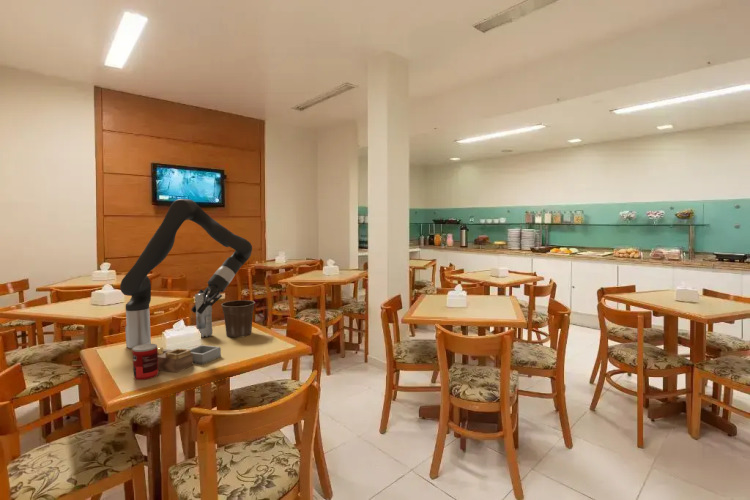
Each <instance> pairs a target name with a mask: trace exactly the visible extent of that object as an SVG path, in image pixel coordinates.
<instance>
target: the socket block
mask: <svg viewBox="0 0 750 500" xmlns="http://www.w3.org/2000/svg"><path fill="white" fill-rule="evenodd" d="M190 349H191V348H190ZM190 349H188V348H176V349H165V348H163V354H160V355H158V371H164V372H171V373H176V374H177V373H178V372H182V371H183V370H186V369H188V368H190V367H193V366H194V363H193V353H191V350H190Z"/></svg>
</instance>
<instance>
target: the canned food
mask: <svg viewBox="0 0 750 500" xmlns="http://www.w3.org/2000/svg"><path fill="white" fill-rule="evenodd" d="M157 348H158V345H157V344H156V343H151V344H143V345H138V346H135V347H134V348H133V349H132V365H133V366H132V369H133V377H134V379H135V380H138V381H139V380H140V381H141V380H143V381H144V380H148V379H152V378H155V377H157V376H158V374H159V370H158V352H157Z"/></svg>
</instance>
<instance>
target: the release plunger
mask: <svg viewBox="0 0 750 500" xmlns="http://www.w3.org/2000/svg"><path fill="white" fill-rule="evenodd" d="M163 349H164V347H157V352H158V355H160V354H163Z"/></svg>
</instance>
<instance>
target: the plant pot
mask: <svg viewBox="0 0 750 500" xmlns="http://www.w3.org/2000/svg"><path fill="white" fill-rule="evenodd" d="M255 304H256V302H255V301H254V300H248V299H247V300H246V299H237V300H230V301H225V302H223V303H221V304H220V306H221V307H222V313H223V318H224V324H225V326H224V327H225V334H226V337H228V338H243V337H247V336H250V335H251V334H252V331H253V330H252V329H253V317H254V316H253V315H254V310H255Z"/></svg>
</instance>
